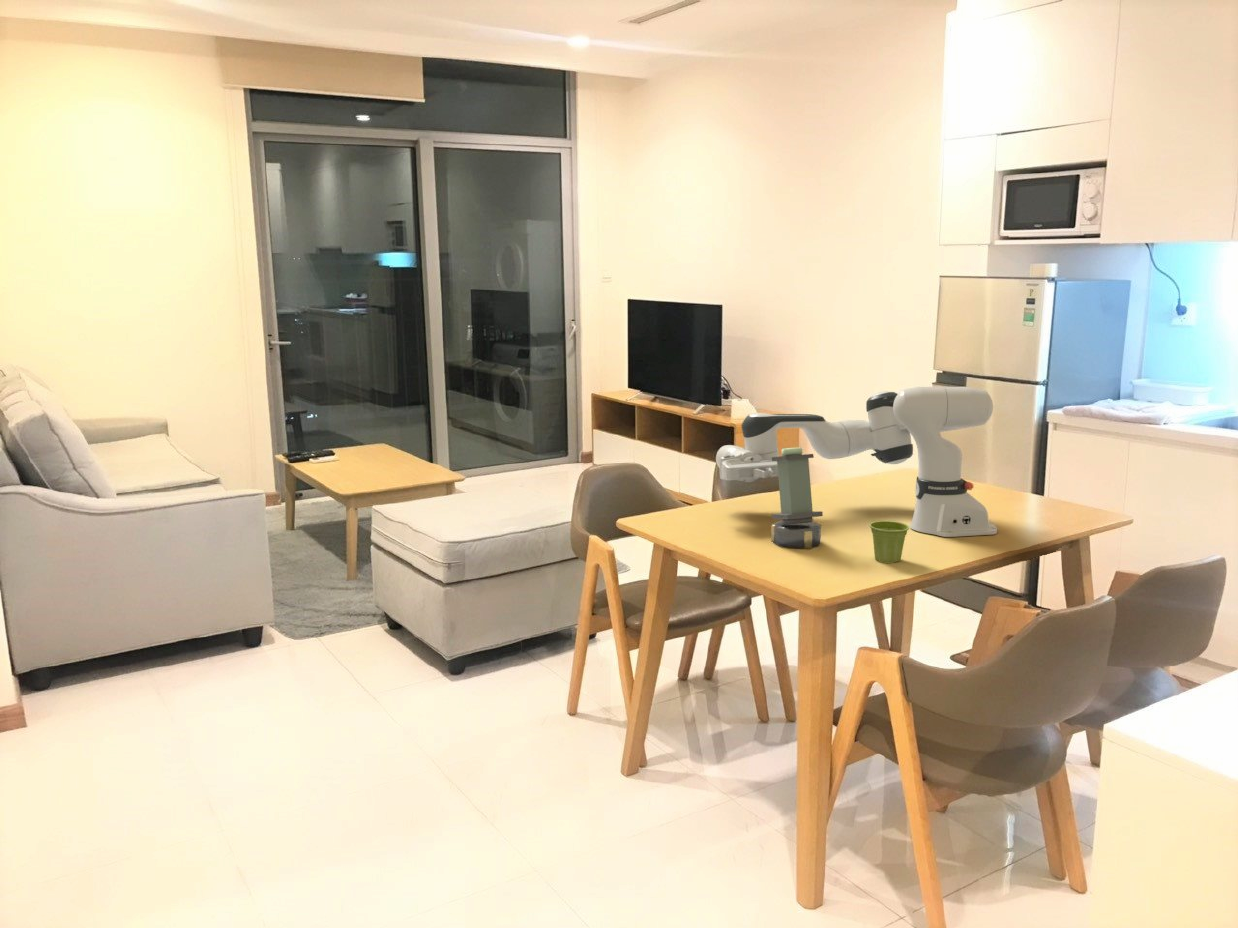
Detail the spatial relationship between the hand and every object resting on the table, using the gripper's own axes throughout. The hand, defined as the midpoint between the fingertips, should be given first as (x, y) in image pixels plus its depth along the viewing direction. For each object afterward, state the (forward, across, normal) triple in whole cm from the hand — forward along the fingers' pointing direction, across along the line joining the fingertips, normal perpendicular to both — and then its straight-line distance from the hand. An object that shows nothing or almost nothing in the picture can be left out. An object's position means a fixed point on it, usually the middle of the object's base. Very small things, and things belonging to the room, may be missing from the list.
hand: (768, 474), depth 273 cm
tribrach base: (+17, 0, -15) cm, 23 cm away
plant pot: (+39, -13, -15) cm, 44 cm away
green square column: (+17, 0, -9) cm, 19 cm away
